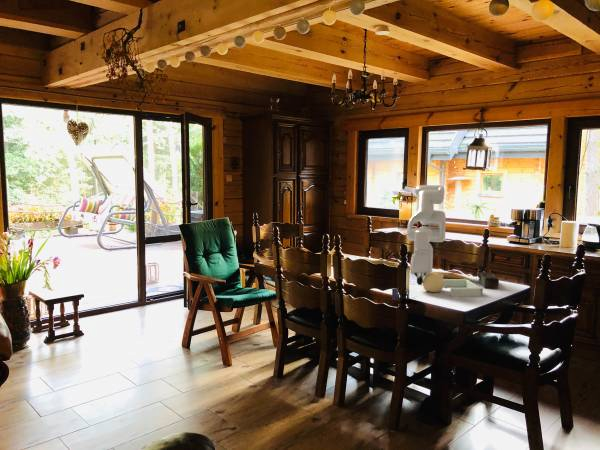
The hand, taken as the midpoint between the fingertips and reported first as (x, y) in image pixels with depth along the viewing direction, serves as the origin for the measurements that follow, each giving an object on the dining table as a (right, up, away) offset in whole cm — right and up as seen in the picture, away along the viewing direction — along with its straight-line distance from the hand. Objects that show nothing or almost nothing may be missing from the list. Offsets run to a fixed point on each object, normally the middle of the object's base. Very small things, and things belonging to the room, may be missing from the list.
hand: (419, 284), depth 272 cm
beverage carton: (+45, -3, +16) cm, 48 cm away
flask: (-14, -6, -17) cm, 23 cm away
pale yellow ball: (+8, -4, +1) cm, 9 cm away
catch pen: (+22, -4, +2) cm, 23 cm away
